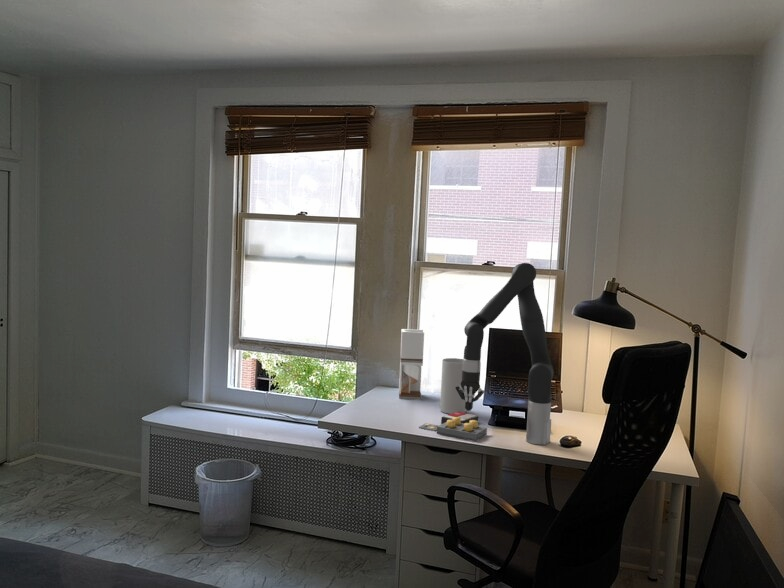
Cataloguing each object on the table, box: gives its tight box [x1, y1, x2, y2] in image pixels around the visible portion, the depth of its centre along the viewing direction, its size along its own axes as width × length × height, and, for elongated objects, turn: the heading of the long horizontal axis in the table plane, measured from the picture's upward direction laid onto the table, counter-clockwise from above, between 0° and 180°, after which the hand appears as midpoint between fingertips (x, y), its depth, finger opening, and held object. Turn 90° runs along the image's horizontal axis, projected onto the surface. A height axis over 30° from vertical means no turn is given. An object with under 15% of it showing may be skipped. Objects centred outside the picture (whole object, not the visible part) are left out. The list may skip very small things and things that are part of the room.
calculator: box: [440, 412, 479, 425], centre depth 295 cm, size 11×4×15 cm
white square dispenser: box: [398, 328, 425, 400], centre depth 341 cm, size 11×11×35 cm
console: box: [436, 422, 488, 442], centre depth 278 cm, size 18×12×3 cm, turn 60°
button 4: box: [469, 420, 479, 429], centre depth 278 cm, size 4×4×3 cm
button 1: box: [447, 420, 455, 429], centre depth 278 cm, size 4×4×3 cm
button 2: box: [452, 417, 461, 426], centre depth 282 cm, size 4×4×3 cm
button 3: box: [464, 423, 473, 432], centre depth 274 cm, size 4×4×3 cm
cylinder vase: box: [439, 357, 467, 415], centre depth 314 cm, size 12×12×25 cm
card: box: [418, 422, 439, 432], centre depth 286 cm, size 8×7×1 cm
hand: (468, 410), depth 273 cm, fingers closed
